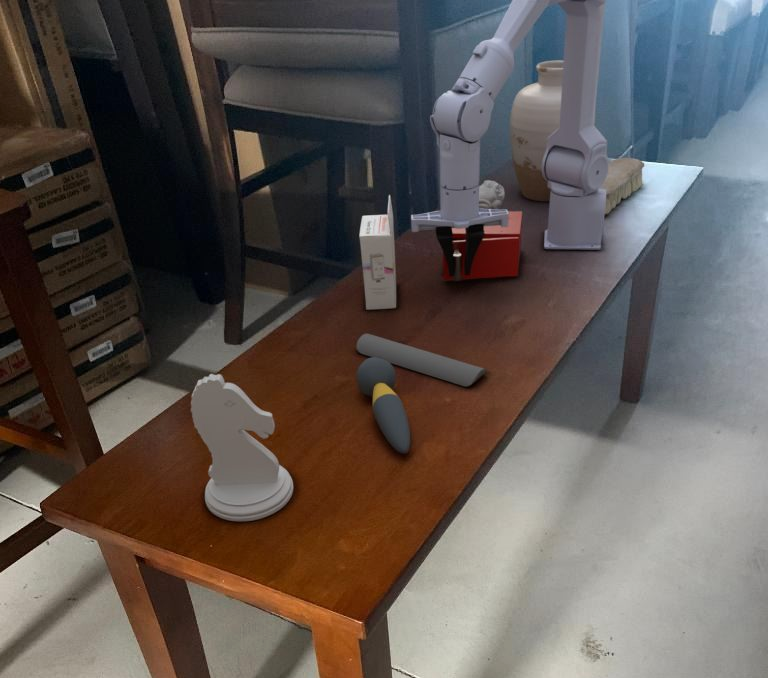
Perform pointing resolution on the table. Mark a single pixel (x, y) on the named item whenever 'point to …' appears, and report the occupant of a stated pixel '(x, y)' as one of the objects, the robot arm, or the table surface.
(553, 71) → the vase
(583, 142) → the robot arm
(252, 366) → the table surface
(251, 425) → the chess piece
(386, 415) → the wand massager
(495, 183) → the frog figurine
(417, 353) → the gray half cylinder
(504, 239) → the red cabinet door
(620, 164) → the shoe brush
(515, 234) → the cabinet
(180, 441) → the table surface
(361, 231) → the ink cartridge box
